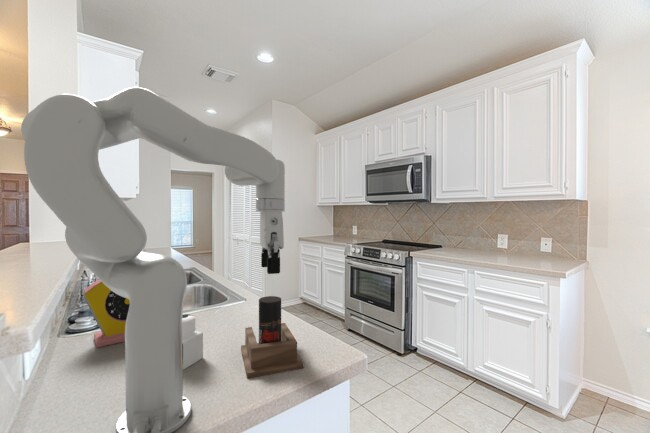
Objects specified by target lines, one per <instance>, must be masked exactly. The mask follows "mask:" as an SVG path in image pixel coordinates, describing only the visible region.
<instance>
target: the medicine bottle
mask: <svg viewBox="0 0 650 433" xmlns="http://www.w3.org/2000/svg"><path fill="white" fill-rule="evenodd" d="M203 358H204V333H203V331H197V330H196V317H195V315H192V314H187V313H186V314H185V313H184V314H182V371H184V370H185V369H187V368H189V367H190V366H192V365H194V364H195V363H197V362H199V361H200V360H202V359H203Z"/></svg>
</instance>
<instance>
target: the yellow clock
mask: <svg viewBox="0 0 650 433" xmlns="http://www.w3.org/2000/svg"><path fill="white" fill-rule="evenodd" d="M82 297H83V299H84V301H85V304H86V305H87V307H88V308H89V310H90V313H91V314H92V316H93V318H94V320H95V322H96V324H97V326H98V328H99V329H100V331H97V332H95V333H94V334H93V339H94V342H95V347H96V348H98V349H99V348H104V347H109V346H111V345H116V344H120V343H125V326H126V319H127V315H128V311H129V306H130V300H129V299H126V298H124V297H122V296H119V295H117V294H116V293H114V292H113V291H111V290H110V289H109V288H108V287H107V286H106V285H105V284H104V283H103V282H102V281H101V280H100V279H99V278H98V279H96V281H94V282H92V283H91V284H90V285H88V286H87V287H86V288H85V289H84V290H83V294H82Z"/></svg>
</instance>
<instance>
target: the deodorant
mask: <svg viewBox="0 0 650 433" xmlns="http://www.w3.org/2000/svg"><path fill="white" fill-rule="evenodd" d="M281 323H282V298H281V297H280V296H274V295H270V296H263V297H260V298H259V299H258V343H259V344H266V343H273V342H280V341H281Z"/></svg>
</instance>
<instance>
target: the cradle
mask: <svg viewBox="0 0 650 433" xmlns="http://www.w3.org/2000/svg"><path fill="white" fill-rule="evenodd" d="M244 331H245V336H244V338H245V339H244V340H245V344H243V345H240V350H241V356H242V361H243V366H244V370H245V375H246V379H250V378H257V377H262V376H268V375H273V374H277V373H284V372H291V371H294V370H301V369H304V362H303V360H302V358H301V357H300V355H299V354H298V341H297V340H296V338H295V335H293V333H292V331H291V330H290V328H289V327H288V325H287V324H286V322H281V341H280V342H273V343H266V344H259V342H257V339H256V336H255V333H254V329H253V327H252V326H248V327H245V328H244Z"/></svg>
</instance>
